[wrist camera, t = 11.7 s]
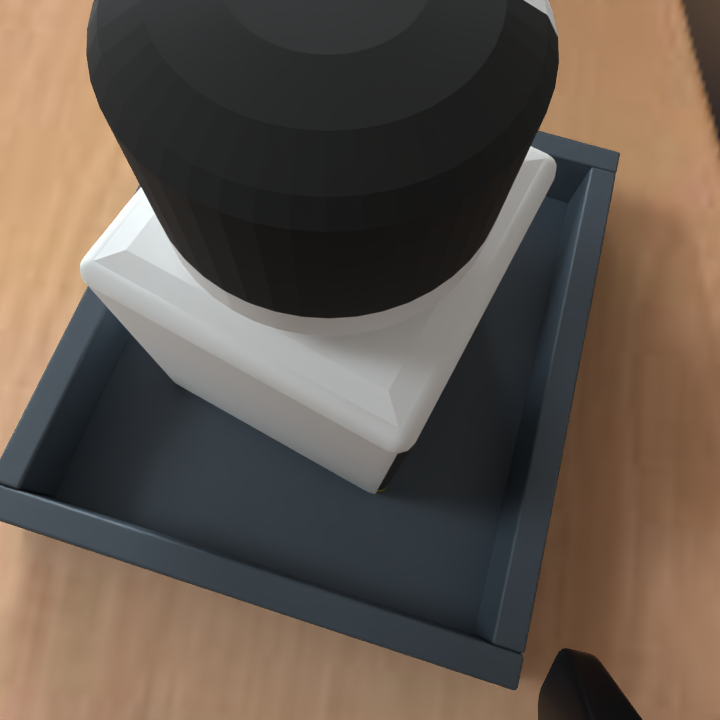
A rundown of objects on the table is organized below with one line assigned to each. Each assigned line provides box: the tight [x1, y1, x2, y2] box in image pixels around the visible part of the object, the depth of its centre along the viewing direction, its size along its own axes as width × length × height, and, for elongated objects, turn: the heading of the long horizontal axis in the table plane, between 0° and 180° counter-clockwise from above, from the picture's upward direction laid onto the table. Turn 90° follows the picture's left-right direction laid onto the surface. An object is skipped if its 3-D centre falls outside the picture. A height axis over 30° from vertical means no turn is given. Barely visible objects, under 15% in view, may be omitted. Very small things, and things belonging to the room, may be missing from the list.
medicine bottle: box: [80, 0, 559, 494], centre depth 13 cm, size 7×7×12 cm
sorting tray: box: [0, 131, 620, 690], centre depth 18 cm, size 16×14×2 cm
